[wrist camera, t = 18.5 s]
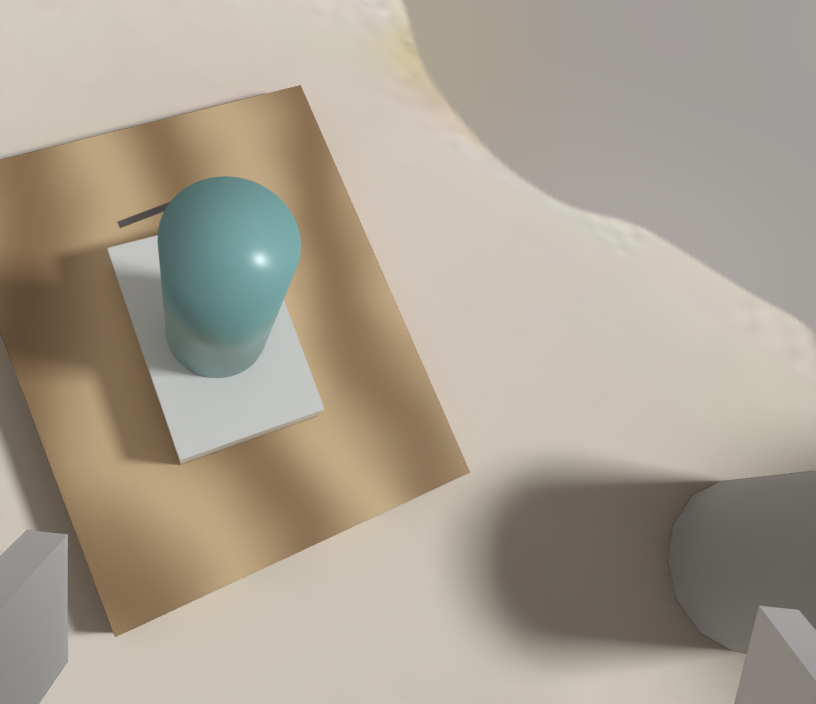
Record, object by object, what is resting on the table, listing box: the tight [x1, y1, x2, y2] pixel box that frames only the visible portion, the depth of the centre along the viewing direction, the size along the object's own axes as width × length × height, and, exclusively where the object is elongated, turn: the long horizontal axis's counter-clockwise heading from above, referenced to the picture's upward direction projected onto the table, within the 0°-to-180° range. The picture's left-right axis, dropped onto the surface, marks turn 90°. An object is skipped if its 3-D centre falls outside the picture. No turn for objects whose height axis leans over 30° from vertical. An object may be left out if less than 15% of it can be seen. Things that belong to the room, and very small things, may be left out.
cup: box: [668, 471, 816, 653], centre depth 35 cm, size 8×8×10 cm
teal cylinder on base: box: [107, 176, 324, 465], centre depth 28 cm, size 6×9×12 cm, turn 22°
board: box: [0, 85, 470, 637], centre depth 34 cm, size 16×20×2 cm
